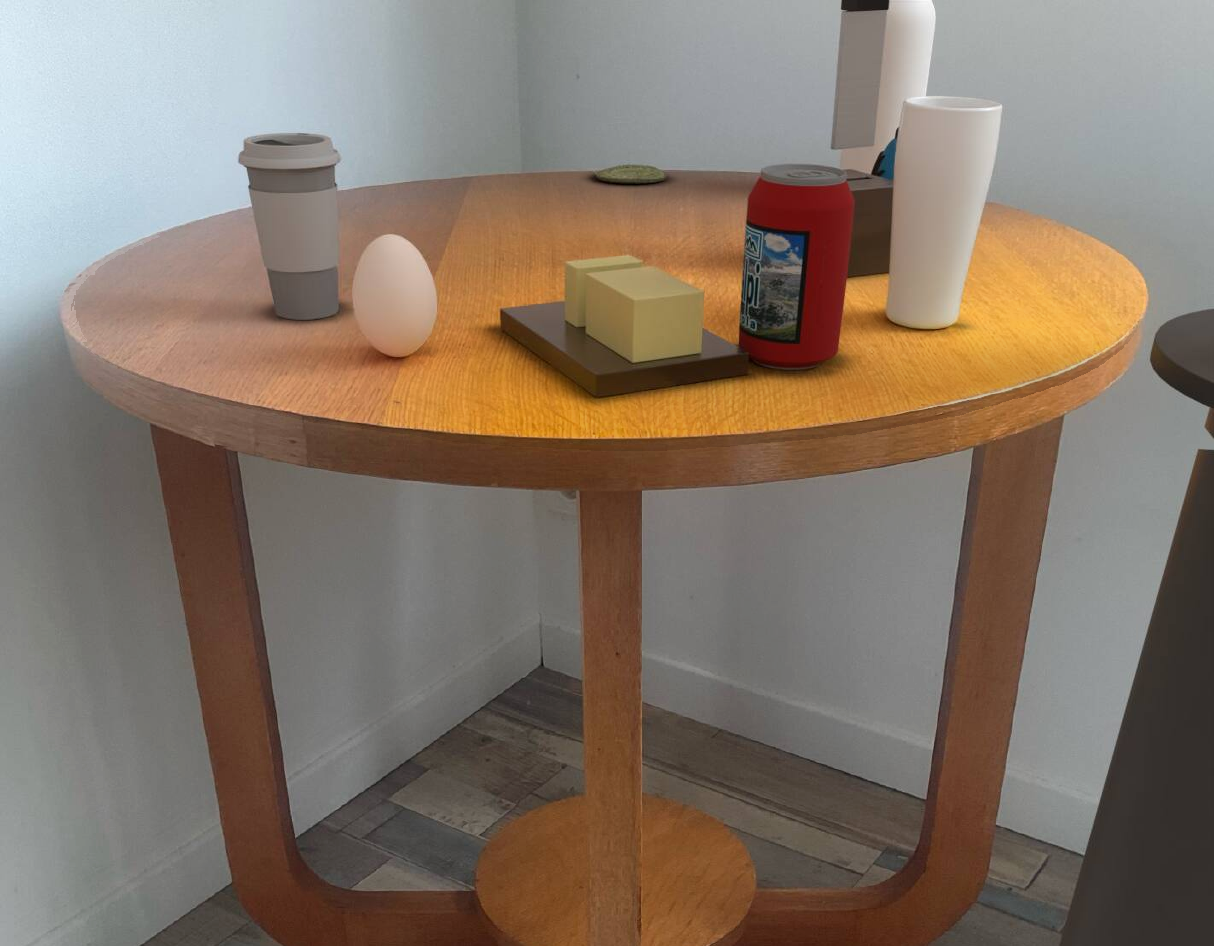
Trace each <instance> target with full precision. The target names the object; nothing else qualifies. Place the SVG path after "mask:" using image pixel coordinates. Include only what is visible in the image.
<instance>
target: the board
mask: <svg viewBox="0 0 1214 946" xmlns="http://www.w3.org/2000/svg"><path fill="white" fill-rule="evenodd" d="M499 316H500V320H499V321H500V330H502V331H503V332H505V334H507V335H509V336H511V337H512V338H513V339H514V340H516V341H517V342H518V343H520V344H521V345H522V346H523V347H525V348H526V349H528V350H529V351H531V352H532V353H534V354H535V355H536V356H538V357H539V358H541V359H542V360H543V361H545V362H546V363H548V364H549V365H550V366H552V367H553V368H554V369H556V370H557V371H558V372H559V373H561V374H563V375H564V376H565V377H566V378H568V379H570V380H571V381H573V382H574V383H575V384H577V385H578V386H579V387H581V388H582V389H583V390H585V391H586V392H587V393H589V394H591V395H592V396H593V397H595V398H604V397H609V396H617V395H622V394H629V393H635V392H636V393H637V392H641V391H643V392H644V391H648V390H649V391H650V390H654V389H655V390H656V389H661V388H668V387H675V386H681V385H688V384H693V383H701V382H706V381H707V382H708V381H714V380H720V379H727V378H733V377H739V376H745V375H748V373H749V363H750V357H749V352H747V351H746V350H744V349H742V348H740V347H739V345H737V344H734V343H732V342H731V341H729V340H727V339H725V338H723V337H721V336H719V335H717V334H716V333H713V332H712V331H710V330H709V329H706V328H705V327H703V329H702V349H701V353H699V354H692V355H685V356H678V357H672V358H665V359H658V360H651V361H644V362H637V363H632V362H630V361H629V360H627V359H626V358H624V357H622V356H621V355H619V354H618V353H616V352H615V351H613V350H611V349H610V348H608V347H607V346H605V345H604V344H602V343H600V342H599V341H597V340H596V339H594V338H593V337H591V336H589V335H588V334H586V326H585V327H575V326H574V325H572V324H570V323H569V322H567V321H566V320H565V300H560V301H552V302H543V303H534V304H526V305H519V306H518V305H517V306H510V307H502V308H501V307H500V309H499Z"/></svg>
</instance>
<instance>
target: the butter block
mask: <svg viewBox="0 0 1214 946" xmlns="http://www.w3.org/2000/svg"><path fill="white" fill-rule="evenodd" d="M704 309H705V291H704V290H703V289H700V288H698V287H696V286H695V285H692V284H690V283H688V282H686V281H684V280H682V279H680V278H678V277H677V276H674V275H672V274H670V273H667V272H665V271H664V270H662V269H659V268H658V267H656V266H653V265H649V266H643V267H640V268H631V269H622V270H613V271H604V272H595V273H587V274H586V334H588V335H589V336H591V337H593V338H594V339H596V340H597V341H599V342H600V343H602V344H604V345H605V346H607V347H608V348H610V349H611V350H613V351H615V352H616V353H618V354H619V355H621V356H622V357H624V358H626V359H627V360H629V361H630V362H632V363H637V362H644V361H651V360H658V359H665V358H672V357H678V356H685V355H692V354H699V353H701V349H702V329H703V328H704Z"/></svg>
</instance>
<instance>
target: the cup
mask: <svg viewBox="0 0 1214 946" xmlns="http://www.w3.org/2000/svg"><path fill="white" fill-rule="evenodd" d="M341 161H342V157H341V154H340V151H338V150H337V149H335V148H334V145H333V142H332V138H331V137H330V136H327V135H325V134H317V133H307V132H305V133H303V132H278V133H277V132H276V133H265V134H258V135H257V134H256V135H252V136H249V137H246V138H244V139H243V150H242V151H240V152H239V154H238V157H237V163H238V164H240V165H242V166H243V167H244V168H245V169H246V173H247V179H248V185H247V188H248V194H249V198H250V199H249V200H250V203H251V207H252V208H251V209H252V213H253V218H254V223H255V227H256V233H257V238H258V242H259V247H260V252H261V257H262V262H263V266H264V268H266V271H267V276H268V282H269V288H270V292H271V297H272V302H273V307H274V312H275V315H277V316H278V317H280V318H282V319H288V320H292V321H293V320H294V321H308V320H309V321H310V320H317V319H318V320H320V319H325V318H328V317H331V316H334V315H336V314H337V313H338V312H339V310H340V305H339V304H340V303H339V272H338V271H339V270H338V269H339V268H338V265H339V264H340V235H339V233H340V232H339V230H340V229H339V228H340V227H339V197H338V195H339V194H338V193H339V192H338V191H339V190H338V183H337V182H336V167H335V166H337V164H339V163H340V162H341Z"/></svg>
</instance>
